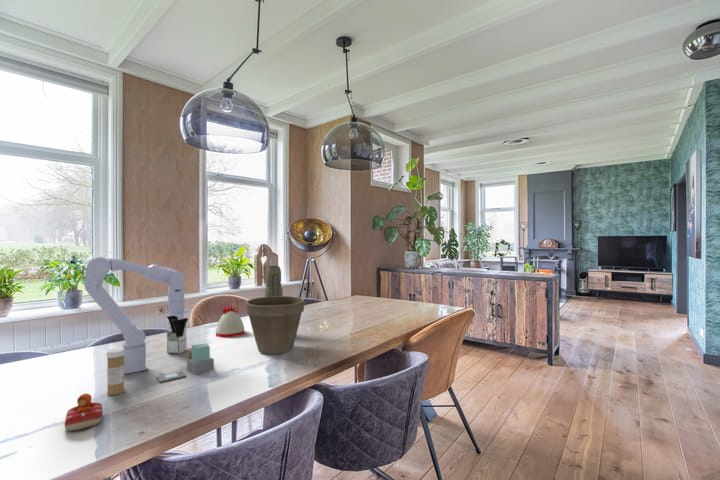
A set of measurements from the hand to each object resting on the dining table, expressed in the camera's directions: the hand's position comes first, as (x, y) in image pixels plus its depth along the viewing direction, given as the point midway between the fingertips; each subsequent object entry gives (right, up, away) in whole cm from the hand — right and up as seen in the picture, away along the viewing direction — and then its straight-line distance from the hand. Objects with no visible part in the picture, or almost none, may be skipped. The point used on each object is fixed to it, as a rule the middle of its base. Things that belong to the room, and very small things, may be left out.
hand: (177, 334), depth 140 cm
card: (+7, -10, -18) cm, 22 cm away
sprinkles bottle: (-4, -10, -30) cm, 32 cm away
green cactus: (+29, -11, +38) cm, 49 cm away
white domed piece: (+5, -11, +42) cm, 44 cm away
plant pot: (+36, -10, +13) cm, 40 cm away
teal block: (+14, -6, -10) cm, 18 cm away
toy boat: (+1, -10, -49) cm, 50 cm away
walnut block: (+7, -10, -1) cm, 13 cm away
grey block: (+14, -10, -10) cm, 20 cm away
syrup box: (-7, -11, +12) cm, 18 cm away
